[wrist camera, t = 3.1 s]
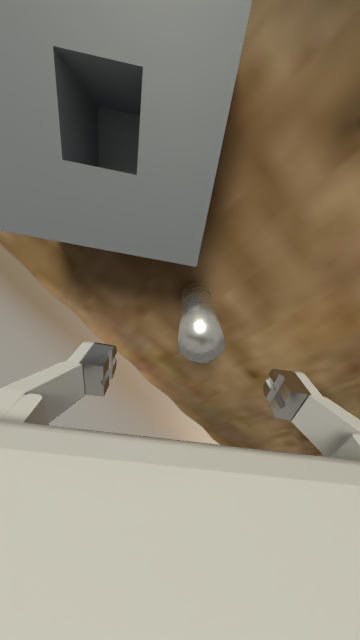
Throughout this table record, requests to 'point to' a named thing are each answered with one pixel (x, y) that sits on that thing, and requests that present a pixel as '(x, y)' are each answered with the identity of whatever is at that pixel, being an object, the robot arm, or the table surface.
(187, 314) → the steel pin
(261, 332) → the table surface
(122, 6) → the pin block
